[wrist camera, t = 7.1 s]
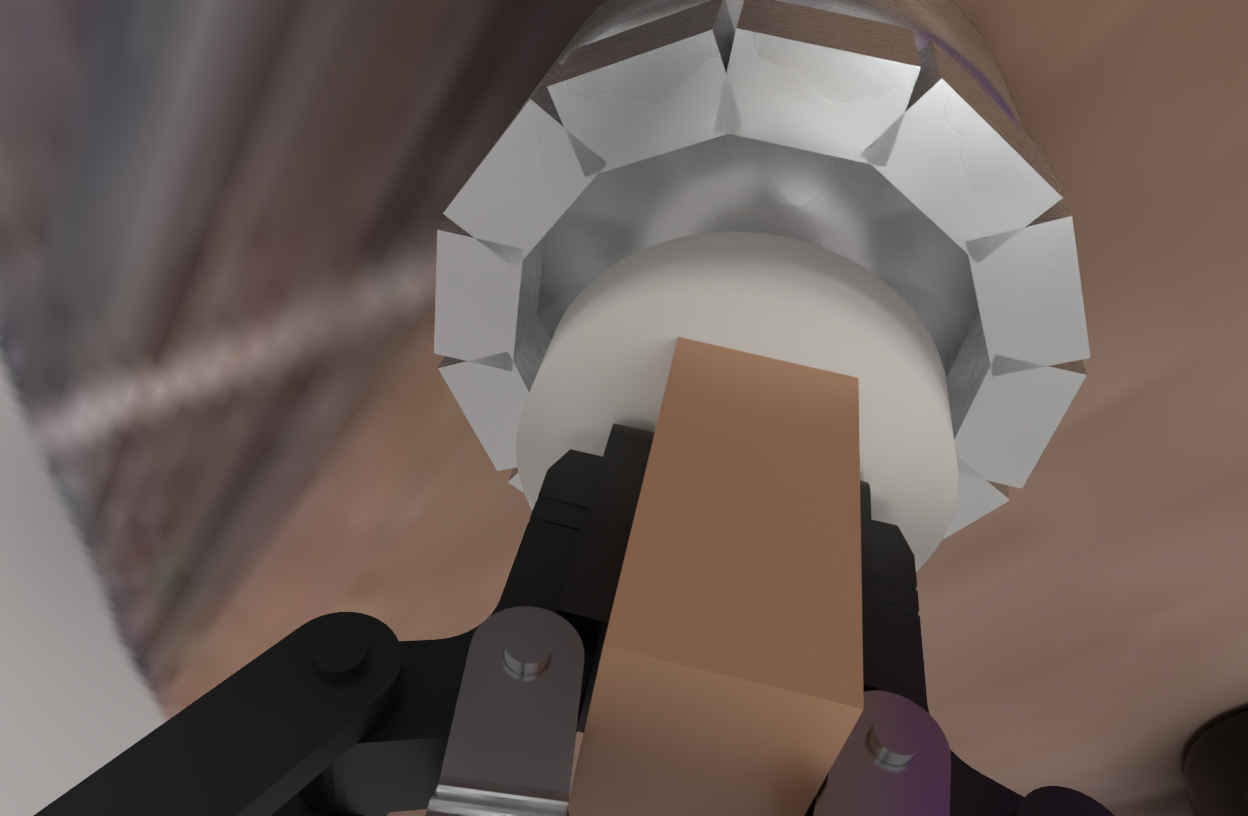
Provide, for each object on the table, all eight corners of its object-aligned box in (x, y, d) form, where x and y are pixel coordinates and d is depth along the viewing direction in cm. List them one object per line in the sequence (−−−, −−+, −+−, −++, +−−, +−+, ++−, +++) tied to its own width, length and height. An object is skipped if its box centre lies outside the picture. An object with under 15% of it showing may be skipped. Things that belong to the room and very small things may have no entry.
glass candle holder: (558, -119, 19) (444, -34, 13) (1111, -5, 18) (1226, 131, 13) (516, 333, 26) (429, 511, 20) (917, 425, 25) (939, 632, 20)
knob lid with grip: (567, 188, 13) (389, 535, 8) (1017, 287, 13) (1130, 714, 8) (529, 500, 18) (395, 865, 12) (871, 583, 17) (883, 990, 12)
